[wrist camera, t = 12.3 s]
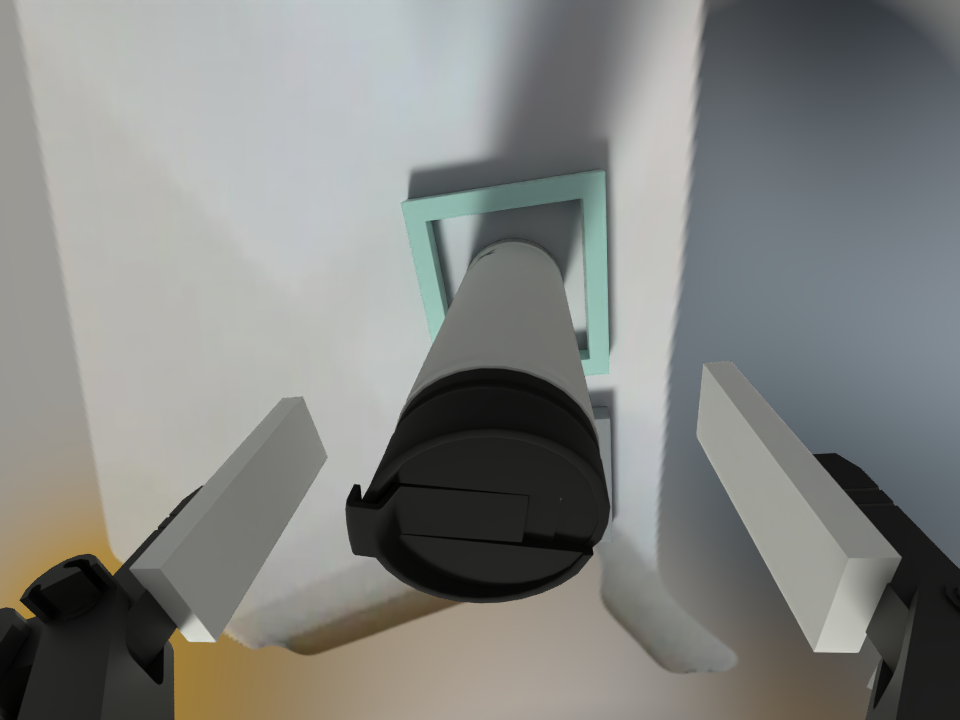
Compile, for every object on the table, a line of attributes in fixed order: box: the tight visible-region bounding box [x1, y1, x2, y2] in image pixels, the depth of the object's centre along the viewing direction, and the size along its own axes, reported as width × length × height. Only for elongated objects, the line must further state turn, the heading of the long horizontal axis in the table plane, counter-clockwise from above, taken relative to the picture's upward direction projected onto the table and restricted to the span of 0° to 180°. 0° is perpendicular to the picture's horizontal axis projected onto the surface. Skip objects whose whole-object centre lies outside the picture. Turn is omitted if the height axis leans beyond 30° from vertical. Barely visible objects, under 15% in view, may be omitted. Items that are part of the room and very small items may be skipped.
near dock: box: [401, 169, 609, 376], centre depth 27 cm, size 12×11×2 cm
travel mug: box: [345, 238, 610, 603], centre depth 19 cm, size 6×7×20 cm
